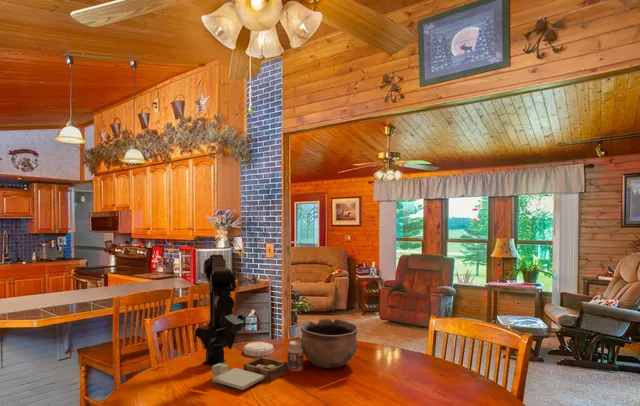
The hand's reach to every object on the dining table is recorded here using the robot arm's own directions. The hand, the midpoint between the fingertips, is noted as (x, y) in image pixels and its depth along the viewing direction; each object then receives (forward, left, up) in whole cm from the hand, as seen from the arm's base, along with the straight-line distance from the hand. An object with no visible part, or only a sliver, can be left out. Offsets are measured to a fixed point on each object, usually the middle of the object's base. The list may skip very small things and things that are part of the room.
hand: (220, 352), depth 145 cm
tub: (+10, +12, -9) cm, 19 cm away
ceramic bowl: (+24, +33, -10) cm, 42 cm away
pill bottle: (+16, +22, -10) cm, 29 cm away
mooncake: (-7, +29, -10) cm, 32 cm away
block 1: (+9, +11, -9) cm, 17 cm away
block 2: (+12, +13, -9) cm, 20 cm away
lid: (+6, 0, -9) cm, 11 cm away
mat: (+6, 0, -9) cm, 11 cm away
